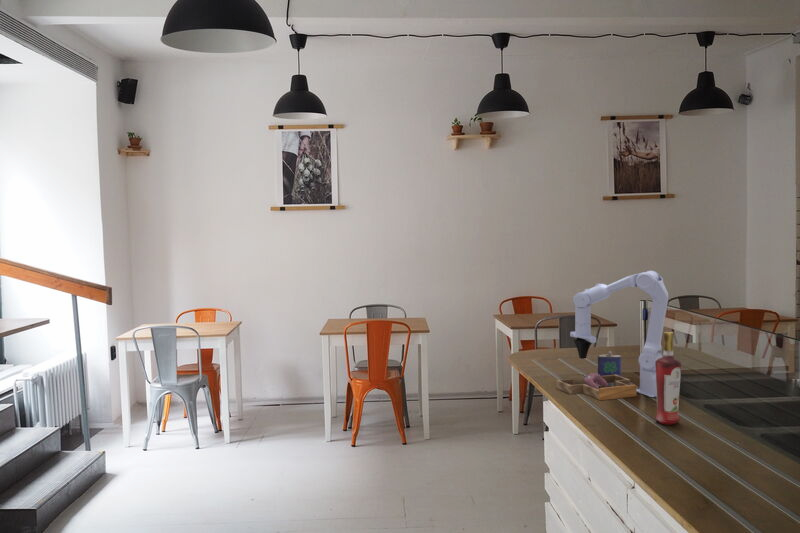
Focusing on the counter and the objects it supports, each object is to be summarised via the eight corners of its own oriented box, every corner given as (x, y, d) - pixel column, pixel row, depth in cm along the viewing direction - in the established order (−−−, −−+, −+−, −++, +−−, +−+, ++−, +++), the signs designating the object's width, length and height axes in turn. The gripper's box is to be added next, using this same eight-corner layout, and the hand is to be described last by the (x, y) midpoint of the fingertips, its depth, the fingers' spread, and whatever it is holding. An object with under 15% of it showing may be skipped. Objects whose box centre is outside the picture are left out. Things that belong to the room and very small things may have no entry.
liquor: (667, 417, 198) (668, 330, 197) (685, 424, 192) (687, 333, 190) (649, 420, 196) (650, 331, 194) (667, 427, 189) (668, 335, 187)
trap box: (649, 394, 225) (649, 383, 225) (586, 401, 217) (586, 390, 217) (615, 382, 244) (615, 371, 243) (556, 388, 236) (556, 377, 236)
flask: (620, 377, 252) (620, 350, 251) (622, 378, 249) (622, 352, 248) (596, 377, 252) (597, 350, 251) (598, 379, 249) (598, 352, 248)
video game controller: (599, 389, 239) (591, 372, 240) (609, 386, 236) (601, 368, 238) (588, 395, 231) (580, 377, 233) (599, 391, 228) (591, 373, 230)
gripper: (563, 321, 246) (563, 355, 247) (584, 326, 233) (584, 362, 234) (579, 320, 249) (578, 354, 249) (601, 325, 235) (600, 361, 236)
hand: (582, 358), depth 242 cm, fingers closed
